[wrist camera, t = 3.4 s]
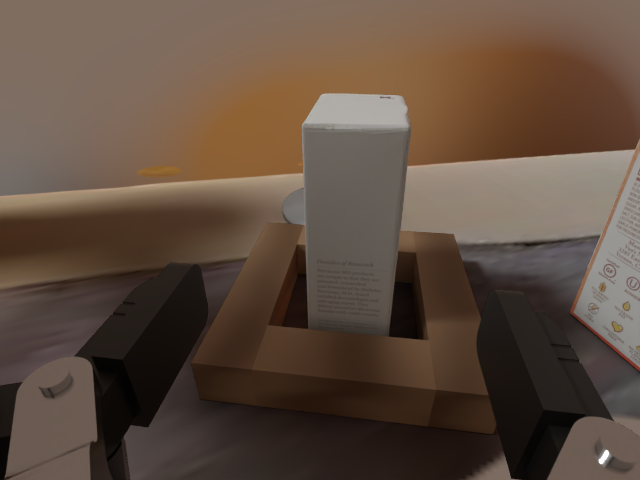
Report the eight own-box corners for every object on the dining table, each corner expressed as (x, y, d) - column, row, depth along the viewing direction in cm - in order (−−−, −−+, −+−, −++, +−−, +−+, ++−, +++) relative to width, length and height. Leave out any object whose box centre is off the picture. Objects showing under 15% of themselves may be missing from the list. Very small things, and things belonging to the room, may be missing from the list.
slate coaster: (270, 233, 31) (270, 227, 31) (294, 186, 40) (294, 180, 39) (396, 242, 30) (397, 235, 30) (393, 191, 38) (393, 185, 38)
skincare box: (320, 283, 25) (320, 92, 19) (385, 288, 25) (406, 93, 19) (305, 352, 20) (298, 121, 14) (387, 361, 20) (416, 124, 14)
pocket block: (199, 399, 18) (190, 363, 17) (269, 250, 29) (266, 222, 28) (492, 434, 16) (506, 397, 15) (447, 263, 27) (453, 234, 26)
